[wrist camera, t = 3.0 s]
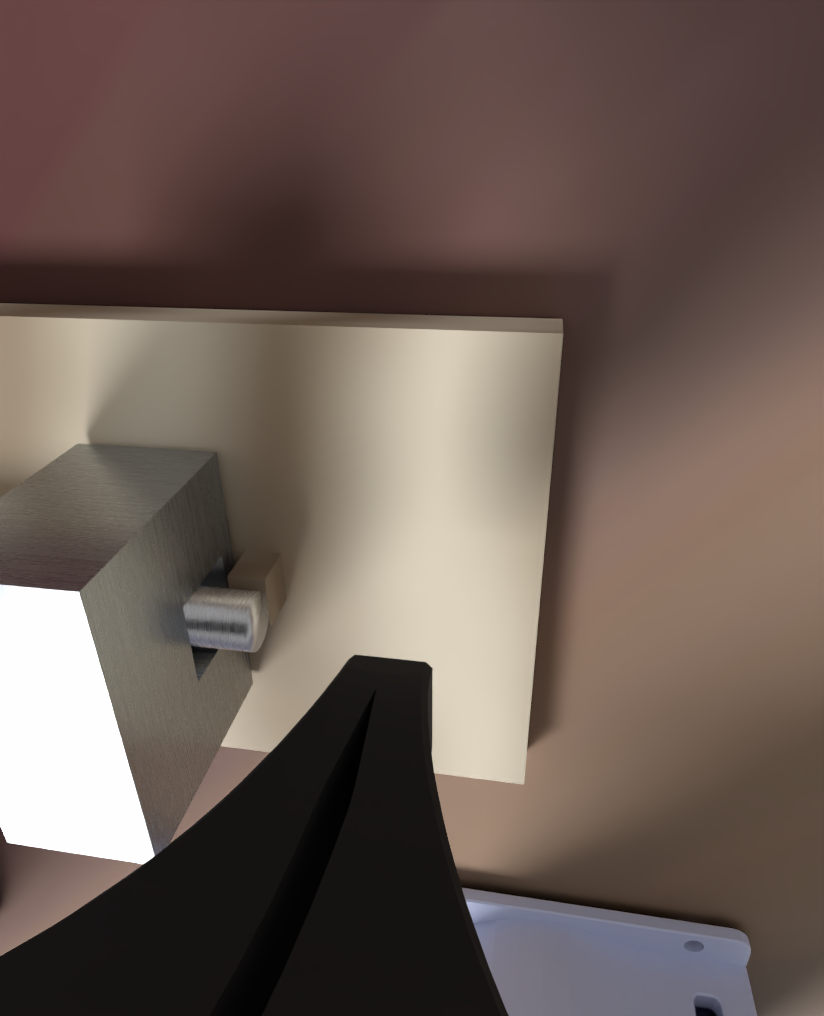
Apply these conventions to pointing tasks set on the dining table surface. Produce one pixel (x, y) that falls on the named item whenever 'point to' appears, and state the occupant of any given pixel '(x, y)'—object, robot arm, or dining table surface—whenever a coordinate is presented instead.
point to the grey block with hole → (111, 648)
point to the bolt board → (330, 489)
